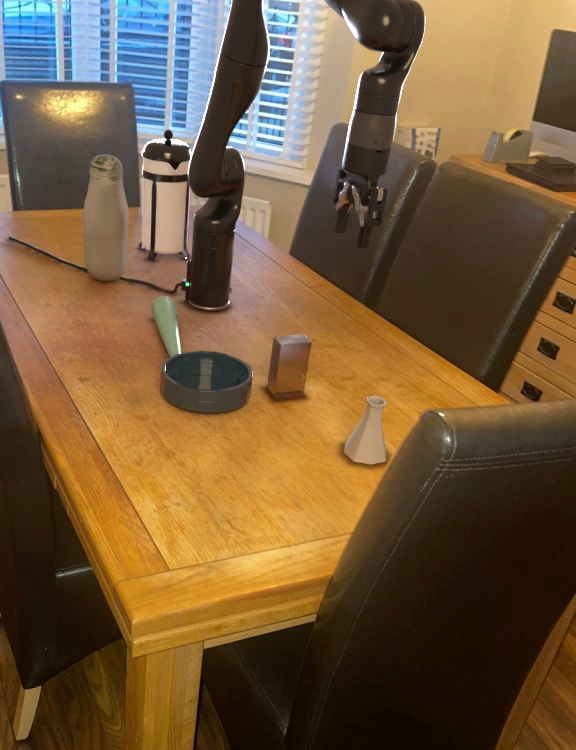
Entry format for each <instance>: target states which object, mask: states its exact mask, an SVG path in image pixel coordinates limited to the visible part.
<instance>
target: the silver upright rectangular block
mask: <svg viewBox="0 0 576 750" xmlns="http://www.w3.org/2000/svg"><path fill="white" fill-rule="evenodd" d="M312 343H313V342H312V340H311V339H310V338H309V337H308V336H307V335H306V334H304V333H301V334H285V335H275V336H273V339H272V344H271V345H272V346H271V354H270V363H269V370H268V376H267V378H268V379H267V384H265V387H264V388H265V390H266V391H267V392H268V394H269V395H270V397H271V398H272V399H274V401H285V400H295V399H304V398H306V392H305V388H306V381H307V375H308V370H309V369H308V368H309V361H310V356H311V349H312Z"/></svg>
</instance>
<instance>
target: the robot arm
mask: <svg viewBox="0 0 576 750" xmlns="http://www.w3.org/2000/svg"><path fill="white" fill-rule="evenodd" d="M323 2H325V4H326V5H327V6H328V7H329V8H330V9H332V10H333V11H334V12H335V13H336V14H337V15H338V16H340V18H342V19H343V20H344V21H345V22H346V24H347V26H348V28H349V30H350V32H351V33H352V34H353V37H354V38H355V40H356V41H357V42H358V43H359V44H360V46H362V47H363V48H365V49H367V50H368V51H371V52H376V53H381V55H380V58H379V60H378V62H377V64H375V65H374V66H373V67H370V68H368V69H365V70H363V72H362V73H361V74H360V76H359V79H358V82H357V88H356V94H355V100H354V105H353V110H352V114H351V117H350V121H349V125H348V129H347V135H346V141H345V147H344V152H343V158H342V163H341V168H339V169H338V170H337V172H336V176H335V177H336V178H335V182H334V187H333V193H332V197H331V204H332V205H335V211H336V215H335V221H334V226H333V232H334V233H335V234H345V233H347V229H348V224H349V219H350V215H351V214H350V213H351V212H350V210H351V209H352V208H353V206H354V207H355V213H356V214H358V218H359V226H358V229H357V235H356V240H355V248H357V249H363V250H364V249H367V248H369V245H370V242H371V241H370V240H371V236H372V232H373V228H374V227H381V226H382V224H383V218H384V213H385V209H386V202H387V197H388V188H386V187H379V185H378V183H379V178H380V177H381V176H384V175H385V174H386V173H387V172H388V171H387V170H388V166H389V160H390V157H391V152H392V147H393V142H394V138H395V133H396V124H397V115H398V110H399V105H400V100H401V95H402V90H403V87H404V84H405V81H406V79H407V77H408V75H409V73H410V71H411V69H412V66H413V64H414V62H415V59H416V58H417V55H418V52H419V51H420V49H421V45H422V43H423V39H424V36H425V31H426V15H425V11H424V9H423V8H424V7H423V6H422V5H421V3H419V2H418V1H417V0H323ZM230 3H231V4H230V8H229V12H228V17H227V21H226V25H225V29H224V34H223V38H222V42H221V45H220V48H219V54H218V57H217V62H216V67H215V70H214V76H213V81H212V85H211V88H210V93H209V97H208V101H207V105H206V108H205V112H204V115H203V119H202V122H201V126H200V128H199V132H198V135H197V136H196V137H197V138H196V140H195V143H194V147H193V149H192V155H191V158H190V162H189V168H188V181H189V185H190V191H191V192H192V194H193V195H194V196H196V197H197V198H200V199H207V200H206V202H205V203H204V204H203V205H202V206H201V207H200V208H199V209H197V210H196V211H195V213H194V215H193V218H192V239H191V254H190V259H188V260H187V262H186V278H185V279H182V280H181V282H178V283H176V284H175V286H174V288H173V290H167V289H164V288H162V287H160V286H158V285H156V284H154V283H151V282H148V281H144V280H140V279H137V278H136V279H135V278H130V277H126V276H125V277H124V276H121V277H120V278H119V279H118V280H120V281H125V282H129V283H135V284H140V285H144V286H148V287H151V288H153V289H154V290H157V291H160V292H164V293H166V294H171V295H172V294H176V293H177V292H178V289H179V287H180V291H183V292H185V295H184V299H185V300H184V303H187V304H188V305H189V306H190V307H191V308H193V309H196V310H199V311H202V312H203V311H204V312H219V311H223V310H226V309H228V308H229V306H230V294H232V287H231V284H232V283H231V282H232V269H233V260H234V259H233V258H234V249H235V248H234V246H235V236H236V235H235V234H236V225H237V221H238V219H239V218H240V215H241V210H242V203H243V196H244V189H245V181H246V167H245V162H244V158H243V156H242V154H241V152H239V150H238V149H236V148H234V147H232V146H228V144H229V142H230V139H231V136H232V134H233V132H234V130H235V128H236V126H237V125H238V124H239V122H240V120H242V118H243V116H244V115H246V112H247V111H248V110H249V108H250V107H251V105H252V104H253V102H254V101H255V99H256V98H257V96H258V94H259V92H260V90H261V87H262V84H263V81H264V78H265V73H266V70H267V68H268V67H267V66H268V63H269V58H270V53H271V44H270V43H271V42H270V35H269V30H268V25H267V20H266V15H265V11H264V0H231V2H230ZM376 212H377V214H376ZM8 240H10V241H13V242H15V243H17V244H20V245H23V246H25V247H27V248H29V249H32V250H34V251H36V252H38V253H40V254H42V255H44V256H47V257H48V258H51V259H53V260H55V261H58V262H60V263H62V264H65V265H67V266H69V267H72V268H76V269H79V270H81V271H84V272H88V270H87V268H86V266H82V265H78V264H77V263H73V262H71V261H68V260H65V259H63V258H60V257H58V256H56V255H54V254H52V253H50V252H47V251H45V250H43V249H41V248H39V247H36V246H34V245H32V244H30V243H28V242H25V241H23V240H20V239H18V238H15V237H13V236H10V235H9V236H8ZM88 273H89V272H88Z"/></svg>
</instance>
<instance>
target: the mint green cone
mask: <svg viewBox="0 0 576 750" xmlns="http://www.w3.org/2000/svg"><path fill="white" fill-rule="evenodd" d="M150 312H151V315H152V317H153V320H154V323H155V325H156V328H157V330H158V332H159V335H160V337H161V341H162V342H163V344H164V347H165V349H166V352H167V354H168V356H169V358H170V357H172V356H174V355H176V354H180V353H182V345H181V337H180V336H181V335H180V329H179V319H178V312H177V306H176V302H175V301H174V299H173V298H171V297H170V296H168V295H160V296H157V297H155V298H154V299H153V301H152V302H151V305H150Z"/></svg>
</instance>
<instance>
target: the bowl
mask: <svg viewBox="0 0 576 750" xmlns="http://www.w3.org/2000/svg"><path fill="white" fill-rule="evenodd" d="M249 365H250V364H248V363H247V362H246V361H244V360H242V359H240V358H239V357H236V356H233V355H230V354H227V353H224V352H219V351H214V350H213V351H211V350H191V351H189V350H188V351H183V352H181V353H180V354H176V355H174V356H172V357H170V356H169V357H167V358H166V359H165V360H164V362H162V364H161V370H160V371H161V372H160V393H161V395H162V397H163V399H165V400H166V401H167V402H169V403H170V404H171V405H173V406H176V407H177V408H180V409H182V410H185V411H188V412H192V413H197V414H209V415H212V414H222V413H227V412H230V411H233V410H236V409H239V408H241V407H243V406H244V405H245V404H247V403H248V401H249V400H250V398H251V393H252V386H253V376H254V375H253V369H252V368H251V367H250V366H249Z"/></svg>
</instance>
